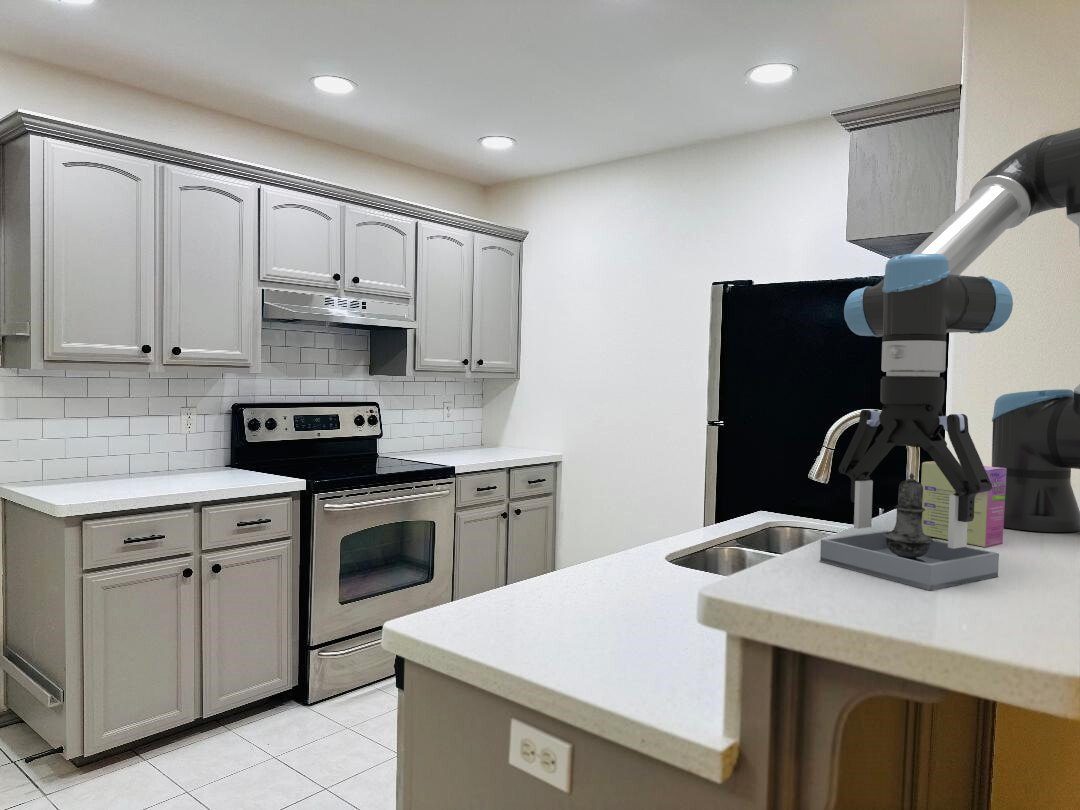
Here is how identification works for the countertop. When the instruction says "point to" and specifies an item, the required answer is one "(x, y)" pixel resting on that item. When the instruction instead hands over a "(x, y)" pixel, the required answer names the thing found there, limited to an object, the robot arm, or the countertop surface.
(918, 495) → the salt shaker
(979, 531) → the box
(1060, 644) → the countertop surface
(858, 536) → the tray
